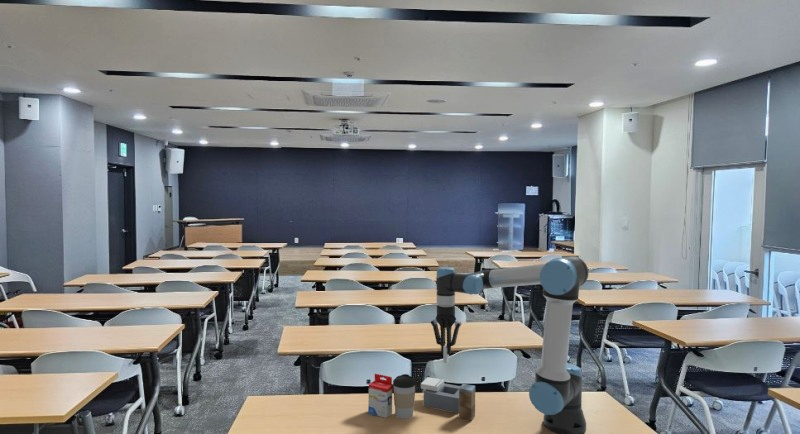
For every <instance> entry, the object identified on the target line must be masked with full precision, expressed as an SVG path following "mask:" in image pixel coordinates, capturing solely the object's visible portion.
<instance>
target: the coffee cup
mask: <svg viewBox="0 0 800 434" xmlns="http://www.w3.org/2000/svg"><path fill="white" fill-rule="evenodd" d="M416 383H417V381H416V379H415V378H414V377H413V376H410V375H409V374H407V373H404V374H401V375H397V376H396V377H395V378H394V379H392V385H393V386H392V387H393V388H392V392H393V404H394V412H395V413H394V414H395V417H396V418H397V419H401V420H408V419H411V418H413V416H414V406H415V399H416V385H417V384H416Z"/></svg>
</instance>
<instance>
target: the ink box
mask: <svg viewBox="0 0 800 434" xmlns="http://www.w3.org/2000/svg"><path fill="white" fill-rule="evenodd" d="M382 378H383V379H382ZM393 387H394V386H393V377H392V376H388V375H384V374H380V373H374V380H373V381H372V382H370V383H369V384H368V411H367V413H368V414H370V415H373V416H377V417H381V418H384V419H387V418H389V417H390V416H391V414H392V413H393Z"/></svg>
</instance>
